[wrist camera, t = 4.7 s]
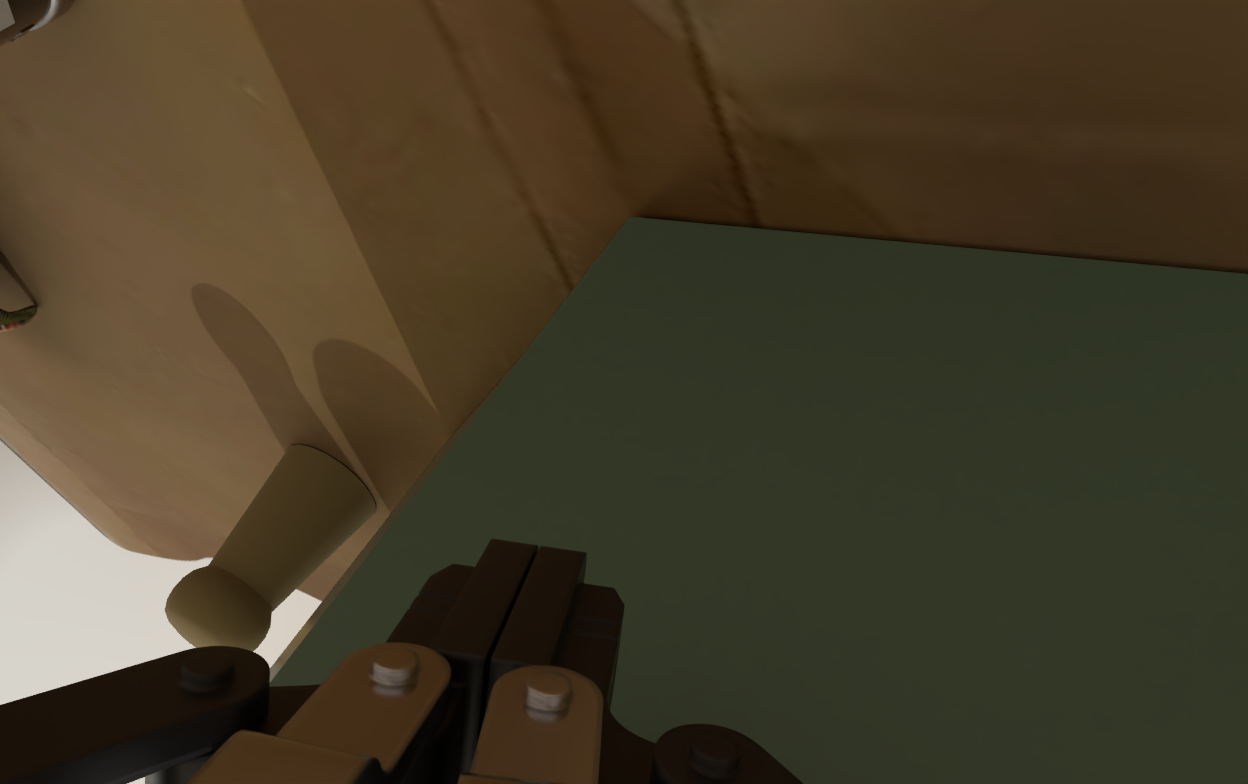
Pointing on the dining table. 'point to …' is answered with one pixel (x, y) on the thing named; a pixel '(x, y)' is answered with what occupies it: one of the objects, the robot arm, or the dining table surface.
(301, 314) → the dining table surface
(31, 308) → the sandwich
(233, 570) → the pawn
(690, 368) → the door
